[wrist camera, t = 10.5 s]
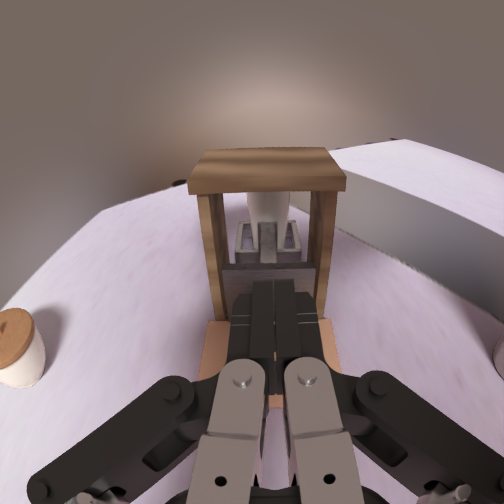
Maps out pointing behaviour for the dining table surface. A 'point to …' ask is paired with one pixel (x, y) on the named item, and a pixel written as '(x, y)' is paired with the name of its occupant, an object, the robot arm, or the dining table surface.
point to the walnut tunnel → (266, 180)
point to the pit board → (218, 348)
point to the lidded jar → (20, 349)
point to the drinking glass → (269, 213)
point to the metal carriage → (266, 263)
